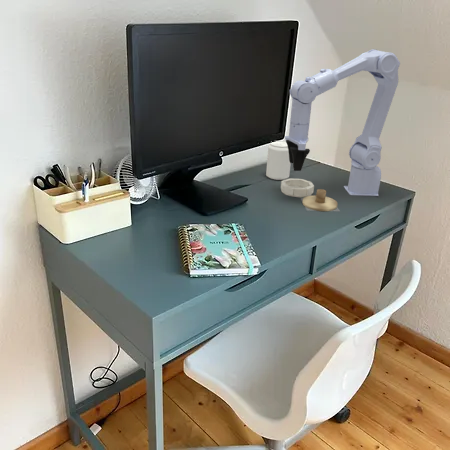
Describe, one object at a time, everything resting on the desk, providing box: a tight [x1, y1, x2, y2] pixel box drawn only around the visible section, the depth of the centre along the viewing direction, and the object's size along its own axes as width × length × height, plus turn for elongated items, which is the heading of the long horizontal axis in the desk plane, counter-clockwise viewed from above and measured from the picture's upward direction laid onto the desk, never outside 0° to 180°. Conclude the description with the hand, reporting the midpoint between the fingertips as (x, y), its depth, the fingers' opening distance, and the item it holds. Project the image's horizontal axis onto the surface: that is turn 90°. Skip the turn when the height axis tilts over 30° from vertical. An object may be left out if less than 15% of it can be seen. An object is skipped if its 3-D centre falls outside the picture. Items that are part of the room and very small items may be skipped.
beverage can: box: [265, 140, 292, 181], centre depth 171 cm, size 8×8×12 cm
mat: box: [299, 197, 341, 212], centre depth 151 cm, size 10×10×1 cm
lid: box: [301, 188, 339, 212], centre depth 150 cm, size 10×10×4 cm
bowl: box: [280, 177, 315, 198], centre depth 160 cm, size 10×10×3 cm
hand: (295, 166), depth 153 cm, fingers open, 7 cm apart
